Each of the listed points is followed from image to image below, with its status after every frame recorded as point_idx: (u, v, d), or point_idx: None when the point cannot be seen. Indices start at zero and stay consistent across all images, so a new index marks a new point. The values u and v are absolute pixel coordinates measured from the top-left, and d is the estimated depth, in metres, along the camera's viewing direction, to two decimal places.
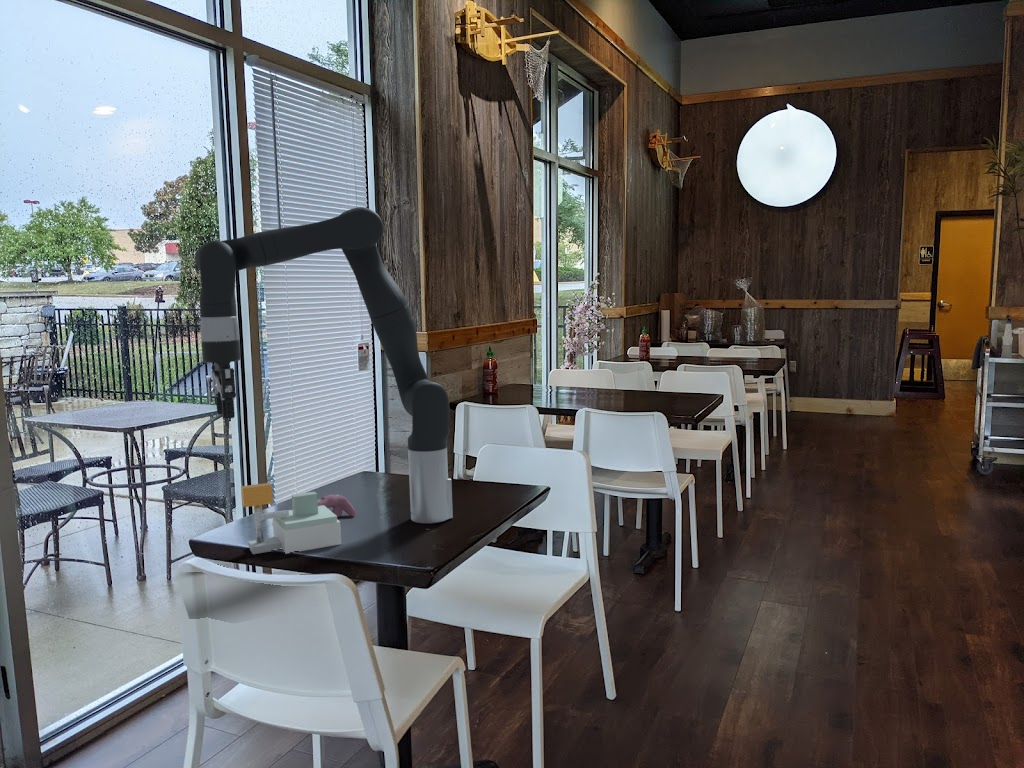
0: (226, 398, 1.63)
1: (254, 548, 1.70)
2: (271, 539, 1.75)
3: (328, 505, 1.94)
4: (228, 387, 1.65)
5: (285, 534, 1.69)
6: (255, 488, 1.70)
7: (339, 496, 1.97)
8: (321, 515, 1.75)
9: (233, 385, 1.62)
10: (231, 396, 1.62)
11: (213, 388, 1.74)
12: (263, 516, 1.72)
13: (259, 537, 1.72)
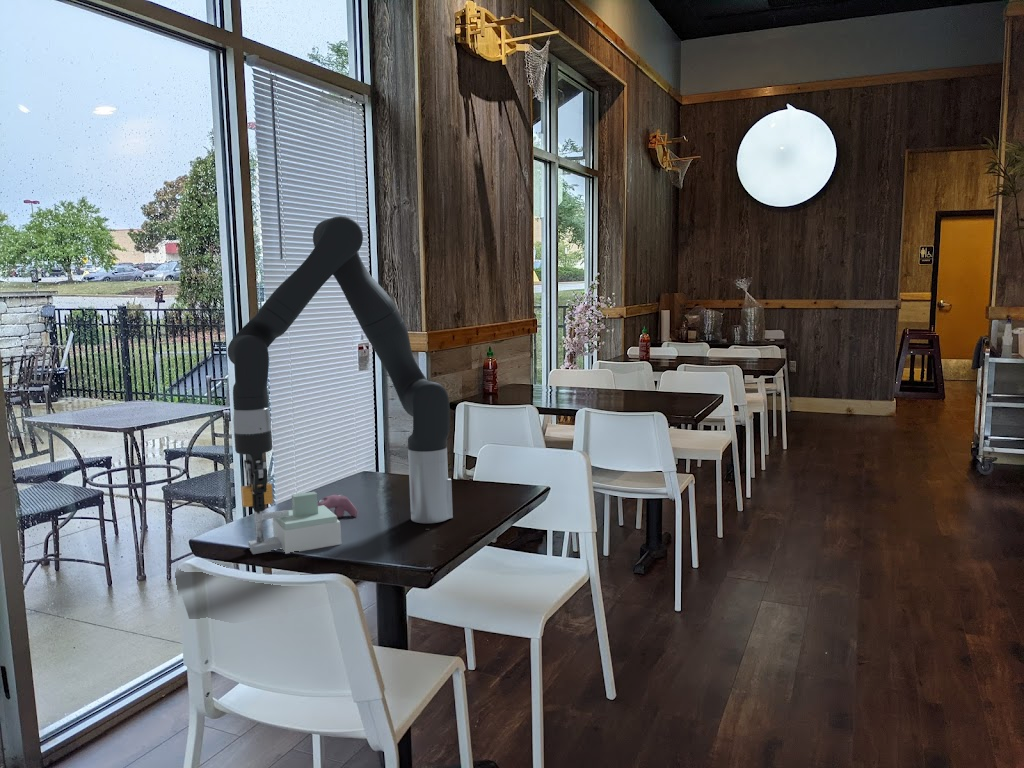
0: (257, 493, 1.68)
1: (254, 548, 1.70)
2: (271, 539, 1.75)
3: (330, 505, 1.94)
4: None
5: (285, 534, 1.69)
6: None
7: (341, 496, 1.97)
8: (321, 515, 1.75)
9: (265, 483, 1.67)
10: (262, 491, 1.68)
11: (247, 482, 1.74)
12: (263, 516, 1.72)
13: (259, 537, 1.72)
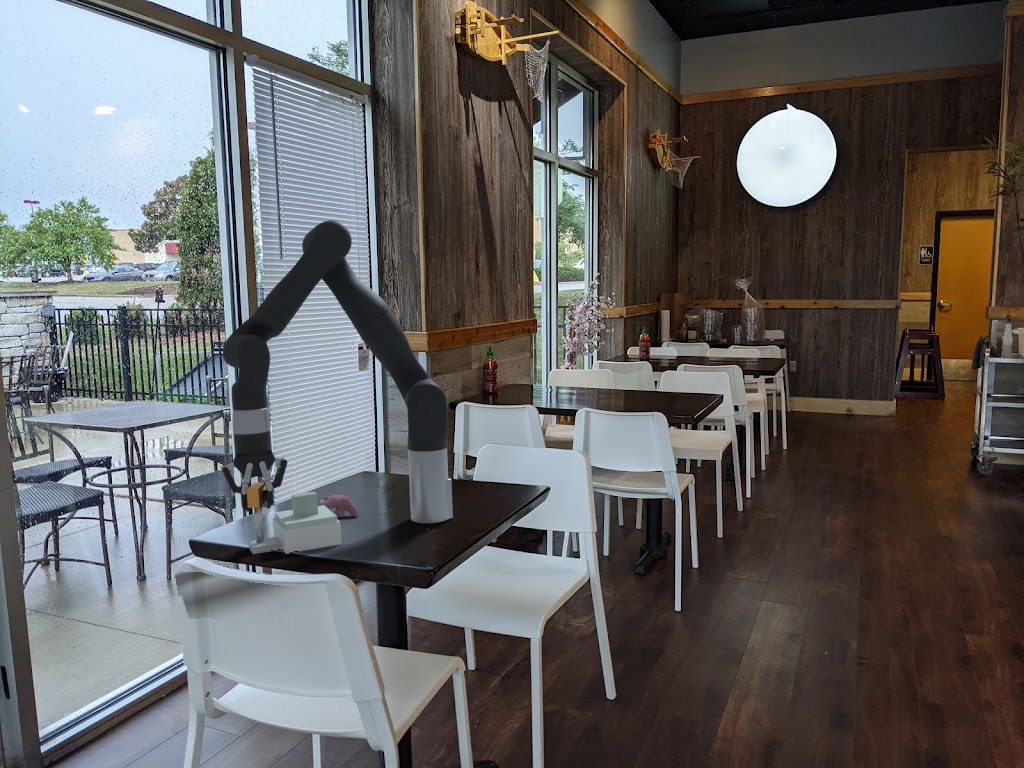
0: None
1: (254, 548, 1.70)
2: (271, 539, 1.75)
3: (331, 505, 1.93)
4: None
5: (285, 534, 1.69)
6: (261, 487, 1.71)
7: (342, 496, 1.96)
8: (321, 515, 1.75)
9: None
10: None
11: (233, 489, 1.68)
12: (263, 514, 1.73)
13: (263, 536, 1.72)
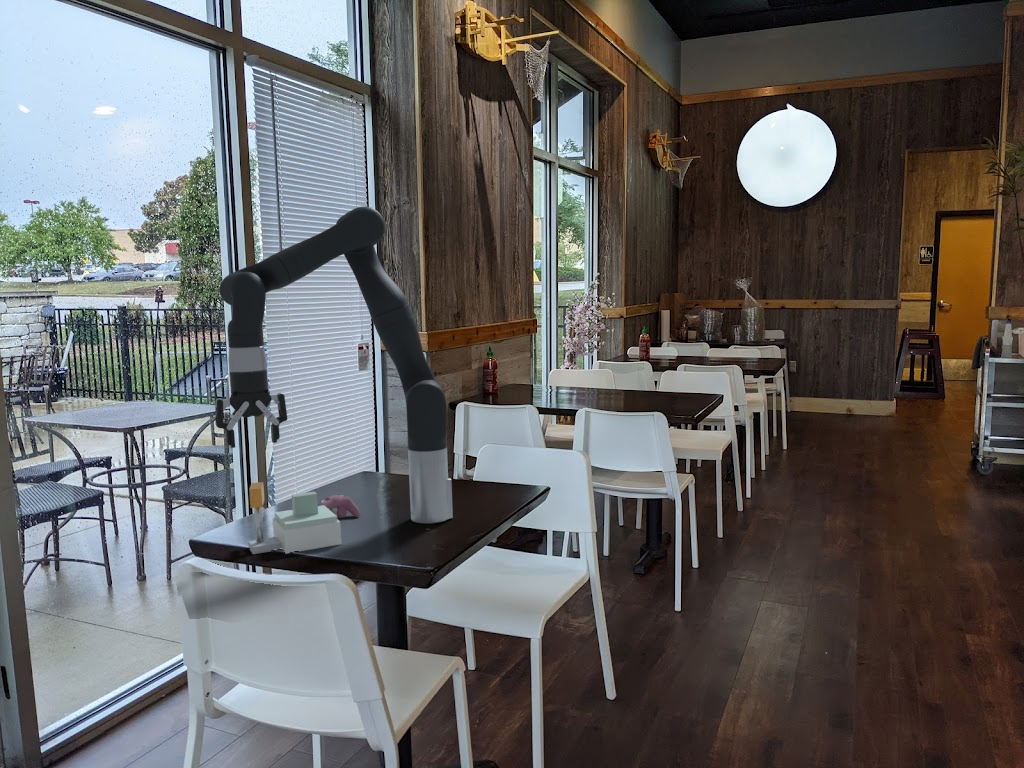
0: (283, 421, 1.72)
1: (254, 548, 1.70)
2: (271, 539, 1.75)
3: (333, 506, 1.93)
4: None
5: (285, 534, 1.69)
6: (262, 487, 1.71)
7: (343, 497, 1.96)
8: (321, 515, 1.75)
9: None
10: None
11: (219, 424, 1.65)
12: (262, 514, 1.73)
13: (263, 535, 1.73)
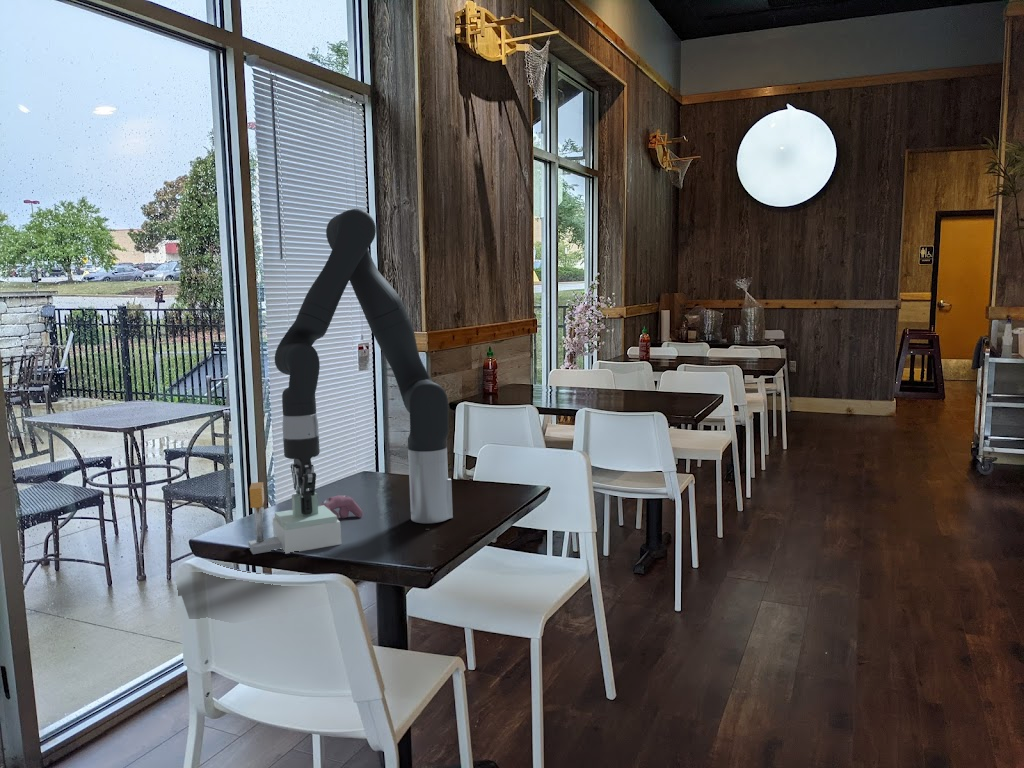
0: (305, 496, 1.73)
1: (254, 548, 1.70)
2: (271, 539, 1.75)
3: (335, 506, 1.93)
4: None
5: (285, 534, 1.69)
6: (262, 487, 1.71)
7: (346, 497, 1.96)
8: (321, 515, 1.75)
9: (313, 487, 1.72)
10: (310, 494, 1.73)
11: (294, 486, 1.79)
12: (262, 514, 1.73)
13: (263, 535, 1.73)
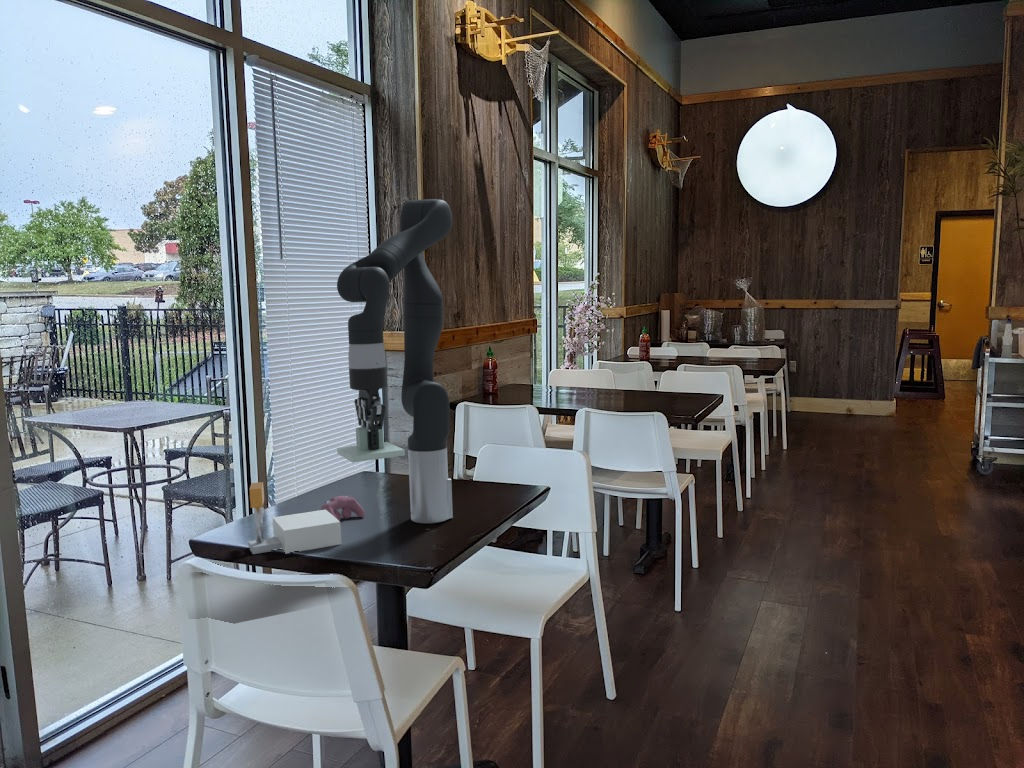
0: (373, 430, 1.63)
1: (254, 548, 1.70)
2: (271, 539, 1.75)
3: (338, 506, 1.92)
4: None
5: (285, 534, 1.69)
6: (262, 487, 1.71)
7: (348, 497, 1.96)
8: (388, 449, 1.65)
9: (382, 420, 1.62)
10: (378, 428, 1.63)
11: (358, 422, 1.69)
12: (262, 514, 1.73)
13: (263, 535, 1.73)
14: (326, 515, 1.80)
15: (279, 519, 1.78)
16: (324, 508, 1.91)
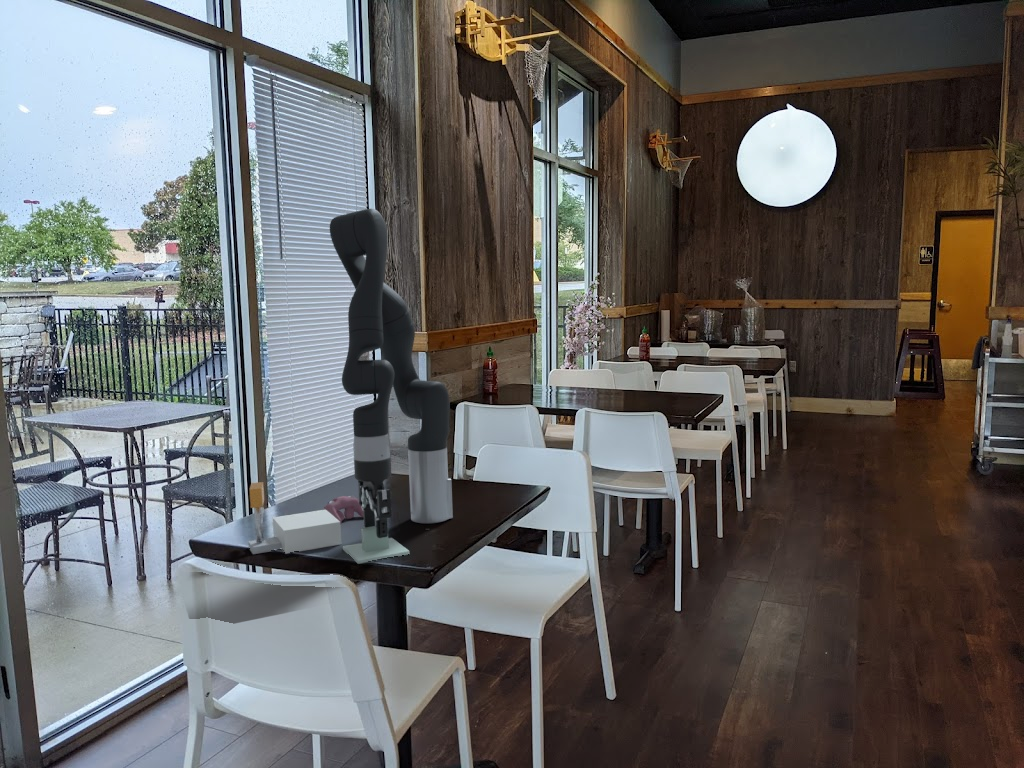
0: (382, 519, 1.63)
1: (254, 548, 1.70)
2: (271, 539, 1.75)
3: (340, 506, 1.92)
4: None
5: (285, 534, 1.69)
6: (262, 487, 1.71)
7: (351, 497, 1.95)
8: (393, 550, 1.68)
9: (389, 506, 1.62)
10: (387, 517, 1.62)
11: (359, 501, 1.74)
12: (262, 514, 1.73)
13: (263, 535, 1.73)
14: (326, 515, 1.80)
15: (279, 519, 1.78)
16: (327, 508, 1.90)
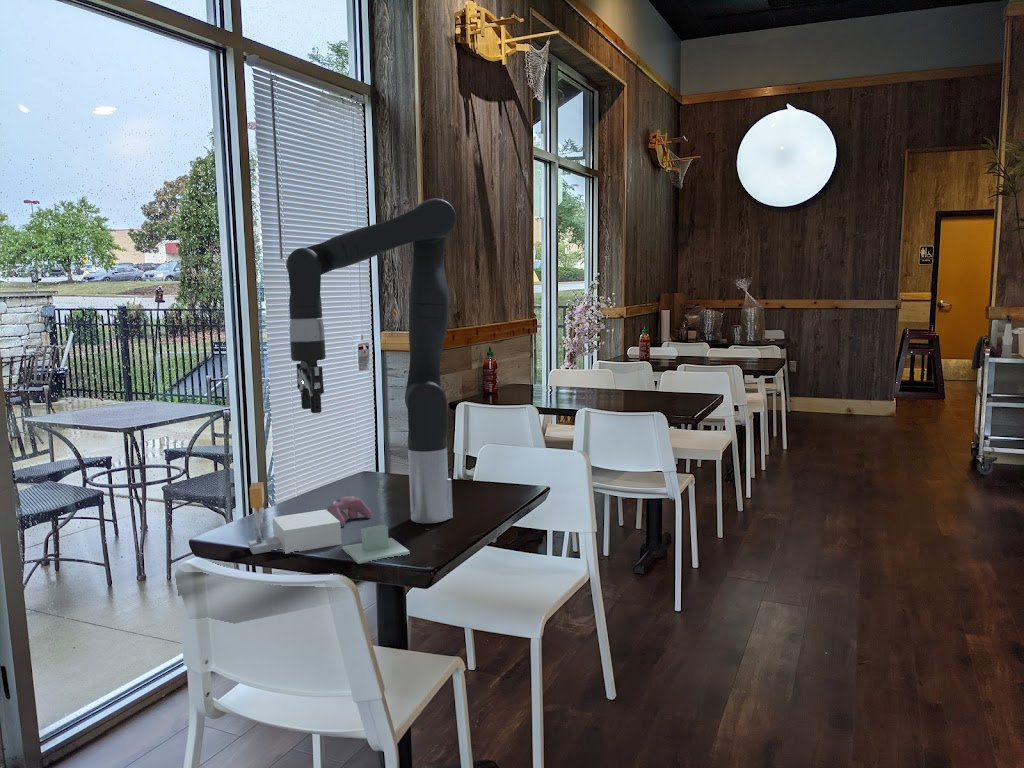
0: (315, 394, 1.75)
1: (254, 548, 1.70)
2: (271, 539, 1.75)
3: (344, 507, 1.92)
4: (315, 384, 1.77)
5: (285, 534, 1.69)
6: (262, 487, 1.71)
7: (354, 498, 1.95)
8: (393, 550, 1.68)
9: (321, 382, 1.75)
10: (319, 392, 1.75)
11: (297, 385, 1.86)
12: (262, 514, 1.73)
13: (263, 535, 1.73)
14: (326, 515, 1.80)
15: (279, 519, 1.78)
16: (331, 509, 1.90)
